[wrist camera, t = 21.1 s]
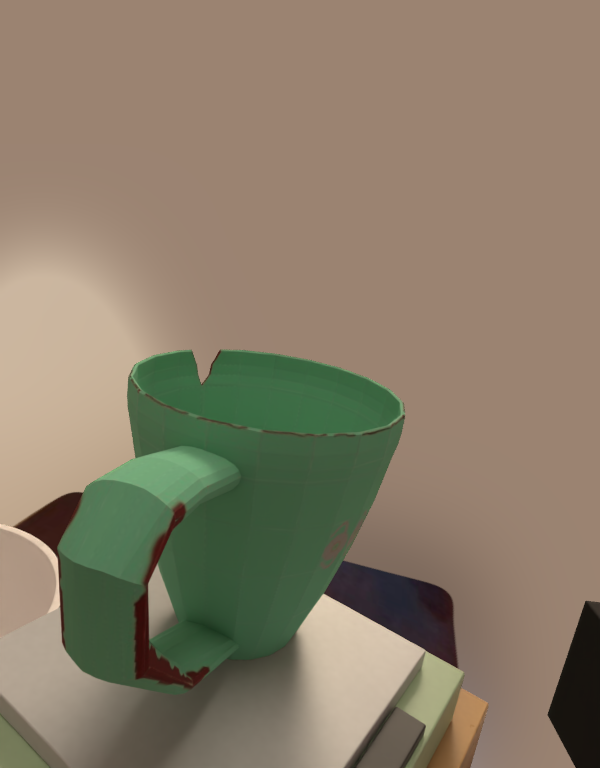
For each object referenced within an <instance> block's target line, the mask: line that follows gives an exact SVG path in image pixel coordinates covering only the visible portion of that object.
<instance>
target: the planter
mask: <svg viewBox="0 0 600 768" xmlns="http://www.w3.org/2000/svg"><path fill="white" fill-rule="evenodd" d="M58 608H60V593H59V573H58V557H57V556H56V555H55V553H54V552H53V551H52V550H51V549H50V548H49V547H48V546H47V545H46V544H45V543H43V542H42V541H41V540H39V539H38V538H36V537H34V536H32V535H31V534H28V533H26V532H24V531H22V530H19V529H17V528H14V527H11V526H7V525H3V524H0V638H1V637H3V636H5V635H7V634H9V633H11V632H13V631H15V630H17V629H19V628H21V627H23V626H25V625H26V624H28V623H30V622H32V621H34V620H36V619H38V618H40V617H42V616H44V615H46V614H48V613H50V612H52V611H54V610H56V609H58Z"/></svg>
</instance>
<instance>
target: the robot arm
mask: <svg viewBox="0 0 600 768" xmlns="http://www.w3.org/2000/svg"><path fill="white" fill-rule="evenodd" d="M548 717H549V718H550V720H551V722H552V724H553V726H554V728H555V729H556V732H557V733H558V735H559V737H560V739H561V741H562V743H563V745H564V747H565V748H566V750H567V752H568V754H569V756H570V758H571V760H572V762H573V763H574V765H575V767H576V768H600V603H599V602H591V601H585V605H584V608H583V610H582V613H581V616H580V619H579V622H578V625H577V628H576V632H575V634H574V637H573V640H572V643H571V646H570V649H569V652H568V655H567V658H566V661H565V664H564V667H563V670H562V673H561V676H560V679H559V682H558V685H557V688H556V691H555V694H554V697H553V700H552V703H551V706H550V709H549V712H548Z"/></svg>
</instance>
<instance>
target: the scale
mask: <svg viewBox="0 0 600 768" xmlns="http://www.w3.org/2000/svg"><path fill="white" fill-rule="evenodd" d="M148 603H149V639H151V638H153V637H155V636H156V635H158V634H160V633H162V632H163V631H165V630H167V629H169V628H171V627H172V626H174V625H176V624H178V623H179V622H178V619H177V617H176V614H175V611H174V609H173V606H172V603H171V601H170V598H169V595H168V592H167V590H166V587H165V584H164V582H163V579H162V576H161V573H160V571H159V567H158V563H157V566H156V568H155V570H154V572H153V574H152V577H151V579H150V581H149V583H148ZM463 679H464V672H462V671H461V670H459V669H457V668H455V667H453V666H452V665H450V664H448V663H446V662H444V661H443V660H441V659H439V658H437V657H435V656H434V655H432V654H430V653H428V652H426V651H425V650H424V649H422V648H420V647H419V646H417V645H415V644H413V643H411V642H410V641H408V640H406V639H404V638H402V637H401V636H399V635H397V634H395V633H393V632H392V631H390V630H388V629H386V628H384V627H383V626H381V625H379V624H377V623H375V622H374V621H372V620H370V619H368V618H366V617H364V616H363V615H361V614H359V613H357V612H355V611H354V610H352V609H350V608H348V607H346V606H345V605H343V604H341V603H339V602H337V601H336V600H334V599H332V598H330V597H328V596H327V595H325V594H323V595H322V596H321V598H320V599H319V600H318V602H317V603H316V605H315V606H314V607H313V609H312V610H311V612H310V613H309V614H308V616H307V617H306V619H305V620H304V621H303V623H302V624H301V626H300V627H299V628H298V630H297V631H296V633H295V634H294V635H293V637H292V638H291V639H290V640H289V642H288V643H287V644H286V645H285V647H283V648H282V649H280V650H278V651H277V652H275V653H273V654H272V655H270V656H266V657H262V658H258V659H254V660H228V659H226V660H225V661H223V662H222V663H221V664H220V665H219V666H218V667H216V668H215V669H214V670H213V671H212V672H211V673H210V674H208V675H207V676H206V677H205V678H204V679H203V680H201V681H200V682H199V683H198V684H197V685H196V686H195V687H193V688H192V689H191V690H190V691H188V692H186V693H184V694H177V695H172V694H166V693H161V692H156V691H151V690H145V689H140V688H135V687H130V686H125V685H120V684H115V683H109V682H106V681H103V680H100V679H97V678H95V677H93V676H91V675H89V674H87V673H85V672H83V671H82V670H81V669H80V668H79V667H78V666H77V665H76V664H75V662H74V661H73V660H72V659H71V657H70V656H69V655H68V653H67V652H66V651H65V648H64V646H63V644H62V633H61V613H60V608H58V609H56V610H54V611H52V612H50V613H48V614H46V615H44V616H42V617H40V618H38V619H36V620H34V621H32V622H30V623H28V624H26V625H25V626H23V627H21V628H19V629H17V630H15V631H13V632H11V633H9V634H7V635H5V636H3V637H1V638H0V768H427V766H428V764H429V762H430V760H431V758H432V756H433V754H434V753H435V751H436V749H437V747H438V745H439V743H440V741H441V739H442V737H443V735H444V734H445V732H446V730H447V728H448V726H449V724H450V722H451V720H452V718H453V715H454V711H455V708H456V704H457V700H458V697H459V693H460V690H461V686H462V683H463Z"/></svg>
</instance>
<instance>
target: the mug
mask: <svg viewBox="0 0 600 768" xmlns="http://www.w3.org/2000/svg"><path fill="white" fill-rule="evenodd" d="M127 399H128V411H129V417H130V424H131V430H132V437H133V444H134V450H135V457H136V458H135V459H131V460H130V461H128V462H126V463H124V464H123V465H121V466H120V467H117V468H116V469H114V470H112V471H111V472H109V473H107V474H105V475H104V476H102V477H100V478H98V479H97V480H95V481H93V482H92V483H90V484H89V485H88V486H86V488H85V490H84V492H83V494H82V497H81V499H80V501H79V503H78V505H77V507H76V509H75V511H74V513H73V516H72V518H71V520H70V522H69V524H68V526H67V528H66V530H65V532H64V534H63V537H62V539H61V541H60V543H59V545H58V547H57V554H58V573H59V593H60V613H61V633H62V644H63V646H64V648H65V651H66V652H67V653H68V655H69V656H70V657H71V659H72V660H73V661H74V662H75V664H76V665H77V666H78V667H79V668H80V669H81V670H82V671H83V672H85V673H87V674H89V675H91V676H93V677H95V678H97V679H100V680H103V681H106V682H109V683H115V684H120V685H125V686H130V687H135V688H140V689H145V690H151V691H156V692H161V693H166V694H172V695H177V694H184V693H186V692H188V691H190V690H191V689H192V688H193V687H195V686H196V685H197V684H198V683H199V682H200V681H201V680H203V679H204V678H205V677H206V676H207V675H208V674H210V673H211V672H212V671H213V670H214V669H215V668H216V667H218V666H219V665H220V664H221V663H222V662H223V661H225V660H226V659H228V660H254V659H258V658H262V657H266V656H270V655H272V654H273V653H275V652H277V651H278V650H280V649H282V648H283V647H285V645H286V644H287V643H288V642H289V640H290V639H291V638H292V637H293V635H294V634H295V633H296V631H297V630H298V628H299V627H300V626H301V624H302V623H303V621H304V620H305V619H306V617H307V616H308V614H309V613H310V612H311V610H312V609H313V607H314V606H315V605H316V603H317V602H318V600H319V599H320V598H321V596H322V595H323V593H324V592H325V590H326V588H327V587H328V585H329V583H330V582H331V580H332V578H333V576H334V575H335V573H336V571H337V570H338V568H339V566H340V564H341V563H342V561H343V559H344V558H345V556H346V554H347V553H348V551H349V549H350V547H351V546H352V544H353V542H354V540H355V538H356V536H357V534H358V532H359V530H360V528H361V526H362V524H363V522H364V520H365V518H366V516H367V514H368V512H369V509H370V508H371V506H372V504H373V502H374V500H375V498H376V495H377V493H378V490H379V488H380V485H381V483H382V480H383V478H384V475H385V473H386V471H387V468H388V466H389V463H390V460H391V458H392V456H393V453H394V451H395V450H396V447H397V445H398V442H399V439H400V436H401V433H402V429H403V424H404V419H405V409H404V403H403V402H402V401H401V400H400V399H399V398H398V397H397V396H396V395H395V394H394V393H393V392H392V391H391V390H390V389H388V388H386V387H384V386H382V385H380V384H379V383H377V382H375V381H373V380H371V379H369V378H367V377H364V376H361V375H359V374H356V373H353V372H350V371H348V370H345V369H342V368H339V367H335V366H331V365H327V364H323V363H319V362H316V361H312V360H307V359H301V358H296V357H291V356H285V355H280V354H273V353H264V352H255V351H246V350H220V351H219V352H218V354H217V356H216V358H215V360H214V361H213V363H212V364H211V368H210V373H209V375H208V377H207V378H206V380H205V381H204V382H203V383H202V385H201V382H200V379H199V376H198V370H197V364H196V361H195V358H194V355H193V352H192V350H179V351H174V352H168V353H164V354H158V355H153V356H151V357H149V358H147V359H145V360H143V361H140V362H138V363H136V364H135V365H134V367H133V369H132V371H131V373H130V375H129V377H128V392H127ZM157 563H158V567H159V571H160V573H161V576H162V579H163V582H164V584H165V587H166V590H167V592H168V595H169V598H170V601H171V603H172V606H173V609H174V611H175V614H176V617H177V619H178V622H179V623H178V624H176V625H174V626H172V627H171V628H169V629H167V630H165V631H163V632H162V633H160V634H158V635H156V636H155V637H153V638H151V639H149V603H148V583H149V581H150V579H151V577H152V574H153V572H154V570H155V568H156V566H157Z"/></svg>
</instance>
